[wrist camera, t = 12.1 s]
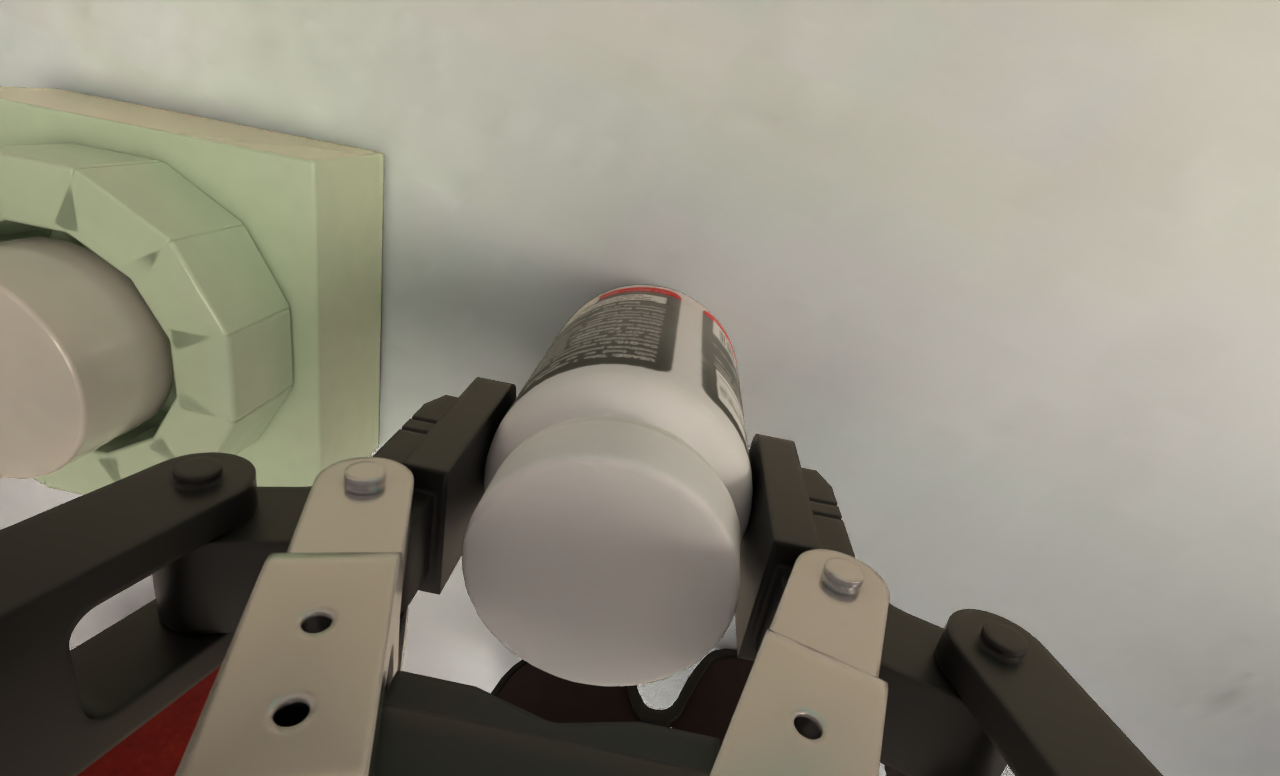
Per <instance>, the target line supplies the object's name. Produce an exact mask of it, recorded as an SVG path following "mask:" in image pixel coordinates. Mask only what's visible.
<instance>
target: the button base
mask: <svg viewBox="0 0 1280 776" xmlns="http://www.w3.org/2000/svg"><path fill="white" fill-rule="evenodd" d="M383 176H384V155H383V154H382V153H380V152H375V151H370V150H365V149H360V148H355V147H350V146H345V145H340V144H335V143H330V142H325V141H320V140H314V139H309V138H304V137H299V136H294V135H289V134H284V133H279V132H274V131H269V130H264V129H259V128H254V127H249V126H244V125H239V124H234V123H229V122H224V121H219V120H213V119H208V118H203V117H198V116H193V115H188V114H183V113H178V112H173V111H168V110H163V109H158V108H153V107H148V106H143V105H138V104H133V103H128V102H123V101H118V100H112V99H107V98H102V97H97V96H92V95H87V94H82V93H77V92H72V91H67V90H62V89H50V88H26V87H2V86H0V241H4V240H10V239H16V238H22V237H28V236H44V237H51V238H57V239H61V240H65V241H68V242H72V243H75V244H77V245H80V246H82V247H85V248H87V249H89V250H91V251H93V252H94V253H96V254H97V255H99V256H100V257H101V258H103V259H104V260H105V261H107V262H108V263H110V264H111V265H112V266H114V267H115V268H116V269H118V270H119V271H121V272H122V273H123V274H125V275H126V276H127V277H129V278H130V279H131V280H132V282H133V283H134V285H135V286H136V288H137V289H138V291H139V293H140V294H141V296H142V297H143V299H144V300H145V302H146V304H147V305H148V307H149V308H150V310H151V311H152V313H153V315H154V316H155V318H156V319H157V321H158V322H159V324H160V326H161V327H162V329H163V330H164V332H165V333H166V335H167V336H168V338H169V341H170V345H171V354H172V362H173V371H174V376H173V383H172V387H171V391H170V394H169V396H168V398H167V400H166V402H165V404H164V405H163V407H162V408H161V409H160V411H159V412H158V413H157V414H156V415H155V416H154V417H153V418H152V419H150V420H149V421H147V422H146V423H144V424H142V425H140V426H139V427H137V428H135V429H133V430H131V431H129V432H127V433H126V434H124V435H122V436H120V437H118V438H116V439H115V440H113V441H111V442H109V443H107V444H105V445H104V446H102V447H100V448H98V449H96V450H94V451H93V452H91V453H89V454H87V455H85V456H83V457H81V458H80V459H78V460H76V461H74V462H72V463H70V464H69V465H67V466H65V467H63V468H61V469H59V470H57V471H55V472H53V473H50V474H48V475H44V476H40V477H34V479H35V480H37V481H38V482H40V483H41V484H45V485H46V486H47V487H50V488H54V489H59V490H64V491H68V492H73V493H78V494H83V495H85V494H87V493H90V492H92V491H95V490H97V489H99V488H102V487H104V486H106V485H109V484H111V483H114V482H116V481H118V480H121V479H123V478H125V477H128V476H130V475H133V474H135V473H137V472H140V471H142V470H144V469H147V468H149V467H151V466H154V465H156V464H159V463H161V462H163V461H166V460H169V459H172V458H175V457H179V456H183V455H188V454H195V453H206V452H219V453H228V454H233V455H237V456H240V457H243V458H245V459H247V460H248V461H250V462H251V463H252V464H253V465H254V467H255V470H256V480H257V487H308V486H312V485H313V482H314V480H315V478H316V476H317V475H318V474H319V473H320V471H322V470H323V469H324V468H326V467H328V466H329V465H331V464H334V463H336V462H339V461H342V460H346V459H351V458H357V457H368V456H369V455H370V454H371V453H372V452H373V451H374V450H375V449H376V448H377V447H378V438H379V386H380V333H381V281H382V228H383Z"/></svg>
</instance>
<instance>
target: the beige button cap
mask: <svg viewBox="0 0 1280 776" xmlns="http://www.w3.org/2000/svg"><path fill="white" fill-rule="evenodd" d="M173 376H174V371H173V362H172V354H171V345H170V341H169V338H168V336H167V335H166V333H165V332H164V330H163V329H162V327H161V326H160V324H159V322H158V321H157V319H156V318H155V316H154V315H153V313H152V311H151V310H150V308H149V307H148V305H147V304H146V302H145V300H144V299H143V297H142V296H141V294H140V293H139V291H138V289H137V288H136V286H135V285H134V283H133V282H132V280H131V279H130V278H129V277H127V276H126V275H125V274H123V273H122V272H121V271H119V270H118V269H116V268H115V267H114V266H112V265H111V264H110V263H108V262H107V261H105V260H104V259H103V258H101V257H100V256H99V255H97V254H96V253H94V252H93V251H91V250H89V249H87V248H85V247H82V246H80V245H77V244H75V243H72V242H68V241H65V240H61V239H57V238H51V237H44V236H28V237H22V238H16V239H10V240H4V241H0V477H4V478H15V479H24V478H34V477H40V476H44V475H48V474H50V473H53V472H55V471H57V470H59V469H61V468H63V467H65V466H67V465H69V464H70V463H72V462H74V461H76V460H78V459H80V458H81V457H83V456H85V455H87V454H89V453H91V452H93V451H94V450H96V449H98V448H100V447H102V446H104V445H105V444H107V443H109V442H111V441H113V440H115V439H116V438H118V437H120V436H122V435H124V434H126V433H127V432H129V431H131V430H133V429H135V428H137V427H139V426H140V425H142V424H144V423H146V422H147V421H149V420H150V419H152V418H153V417H154V416H155V415H156V414H157V413H158V412H159V411H160V409H161V408H162V407H163V405H164V404H165V402H166V400H167V398H168V396H169V394H170V391H171V387H172V383H173Z"/></svg>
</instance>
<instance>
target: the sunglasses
mask: <svg viewBox="0 0 1280 776" xmlns="http://www.w3.org/2000/svg"><path fill="white" fill-rule="evenodd" d="M753 664H754V661H750V660H745V659H740V658H738V656H737V650H735V649H720V650H715V651H713V652H711V653H710V654H708V655H707V656H706V657H705V658H704V659H703V660H702V661H701V662H700V663H699V665H698V666H697V667H696V668H695V669H694V671H693V672H692V674H691V675H690V677H689V678H688V680H687V681H686V683H685V685H684V687H683V689H682V691H681V693H680V695H679V697H678V698H677V700H676V701H675V702H674V704H673V705H672V706H671V707H669V708H667V709H665V710H655V709H652V708H649V707H648V706H646V705H645V704H644V702H643V700H642V698H641V696H640V694H639V692H638V689H637V685H633V686H597V685H589V684H583V683H577V682H572V681H569V680H566V679H563V678H560V677H557V676H554V675H552V674H550V673H547V672H545V671H543V670H541V669H539V668H537V667H535V666H533V665H531V664H529V663H528V662H527V661H524V660H523V659H522V660H521V661H519V662H518V663H517V664H515V665H514V666H513V667H512V668H511V669H510V670H509V671H508V672H507V673H506V674H505V675H504V676H503V677H502V678H501V680H500V681H499V683H498V684H497V685H496V687H495V688H494V690H493V691H492V693H491V694H492V695H494V696H496V697H498V698H501V699H503V700H505V701H507V702H509V703H511V704H513V705H515V706H517V707H519V708H522V709H524V710H526V711H528V712H530V713H532V714H534V715H536V716H538V717H540V718H543V719H545V720H547V721H550V722H555V723H593V722H644V723H649V724H654V725H658V726H663V727H668V728H670V727H672V729H677V730H682V731H687V732H691V733H696V734H701V735H705V736H710V737H715V738H720V748H721V745H722V743H723V740H724V738H725V735H726V733H727V730H728V727H729V725H730V722H731V720H732V717H733V715H734V712H735V710H736V707H737V705H738V702H739V699H740V697H741V694H742V692H743V689H744V687H745V684H746V682H747V679H748V677H749V674H750V672H751V669H752V666H753Z"/></svg>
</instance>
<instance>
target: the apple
mask: <svg viewBox="0 0 1280 776" xmlns="http://www.w3.org/2000/svg"><path fill="white" fill-rule="evenodd" d="M220 667H221V666H220ZM220 667H219V668H217V669H216V670H215V671H213V672H212V673H211V674H209V675H208V676H207V677H206V678H204V679H203V680H202V681H200V682H199V683H198V684H196V685H195V686H194V687H192V688H191V689H190V690H188V691H187V692H186V693H185V694H183V695H182V696H181V697H179V698H178V699H177V700H175V701H174V702H173V703H171V704H170V705H169V706H167V707H166V708H165V709H164V710H162V711H161V712H160V713H158V714H157V715H156V716H154V717H153V718H152V719H150V720H149V721H148V722H146V723H145V724H144V725H143V726H141V727H140V728H139V729H137V730H136V731H135V732H133V733H132V734H131V735H129V736H128V737H127V738H126V739H124V740H123V741H122V742H120V743H119V744H118V745H116V746H115V747H114V748H112V749H111V750H110V751H108V752H107V753H106V754H105V755H103V756H102V757H101V758H99V759H98V760H97V761H95V762H94V763H93V764H91V765H90V766H89V767H87V768H86V769H85V770H84V771H82V772H81V773H80V774H78V775H77V776H175V774H176V772H177V769H178V767H179V764H180V762H181V760H182V757H183V755H184V753H185V750H186V748H187V745H188V743H189V741H190V738H191V736H192V734H193V731H194V729H195V726H196V724H197V722H198V719H199V717H200V715H201V712H202V710H203V707H204V705H205V703H206V700H207V698H208V695H209V693H210V691H211V688H212V686H213V684H214V681H215V679H216V676H217V674H218V672H219V669H220Z"/></svg>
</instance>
